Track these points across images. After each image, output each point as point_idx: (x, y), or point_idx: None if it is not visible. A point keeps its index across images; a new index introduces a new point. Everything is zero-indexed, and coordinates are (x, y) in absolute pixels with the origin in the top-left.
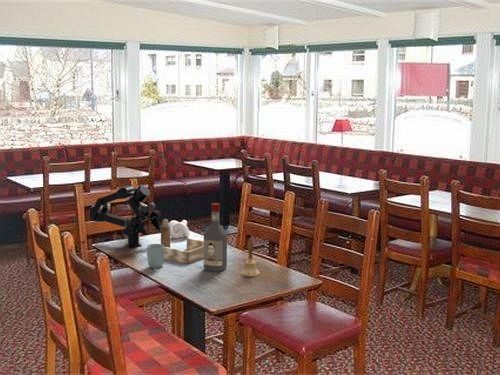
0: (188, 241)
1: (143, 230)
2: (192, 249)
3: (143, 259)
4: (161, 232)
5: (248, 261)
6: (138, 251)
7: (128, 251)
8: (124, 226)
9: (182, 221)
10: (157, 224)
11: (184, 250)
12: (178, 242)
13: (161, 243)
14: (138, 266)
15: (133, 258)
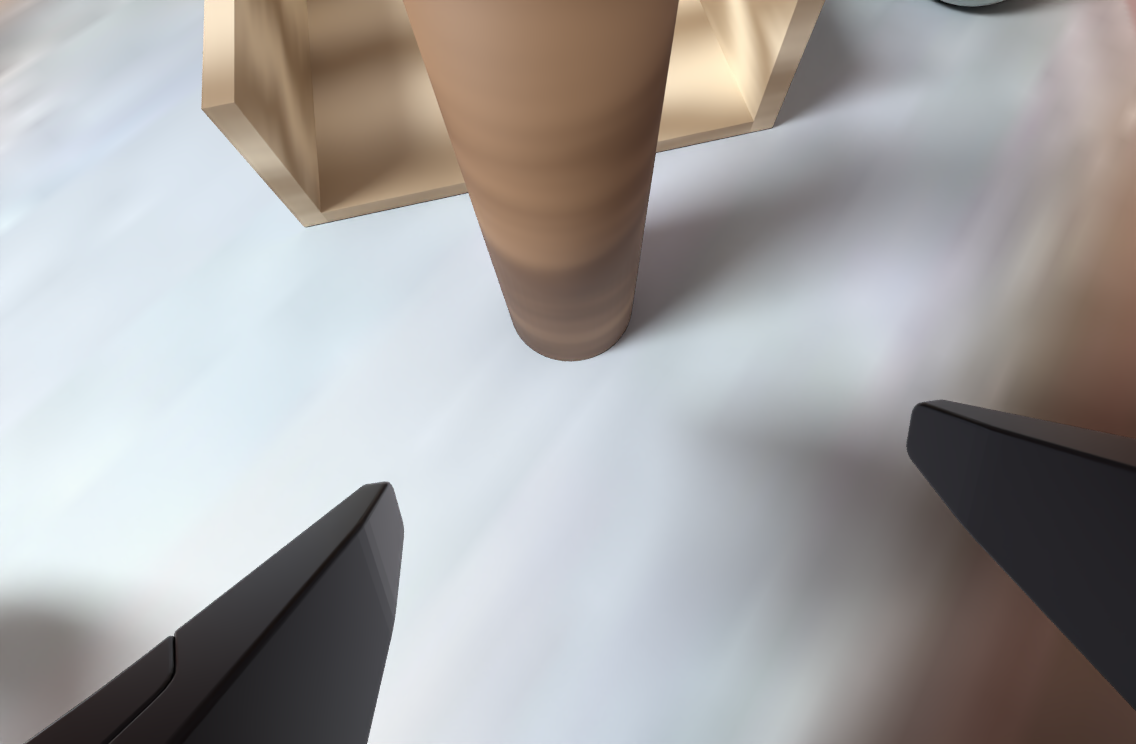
0: (260, 108)
1: (1127, 450)
2: (312, 135)
3: (967, 227)
4: (667, 62)
5: None
6: (870, 589)
7: (1025, 713)
8: None
9: None
10: (300, 621)
11: (387, 181)
12: (77, 597)
13: (642, 236)
14: (1116, 72)
15: (1074, 332)
